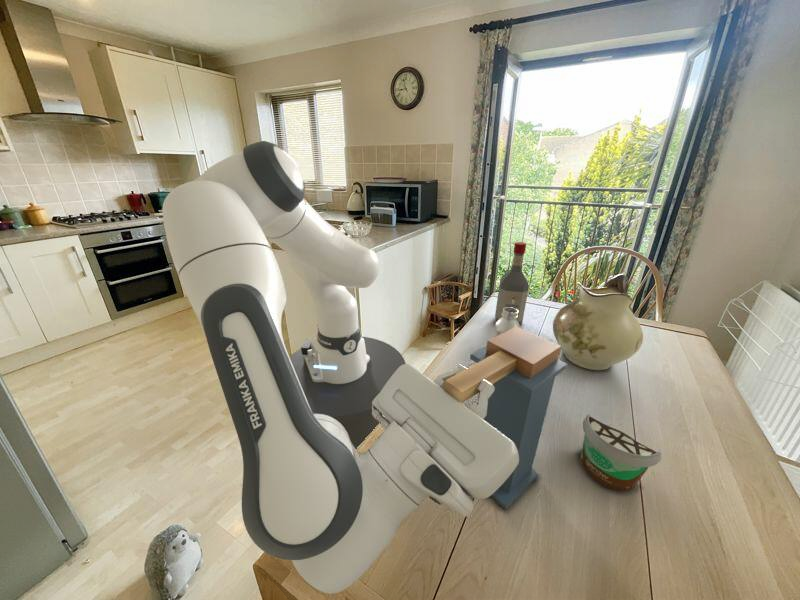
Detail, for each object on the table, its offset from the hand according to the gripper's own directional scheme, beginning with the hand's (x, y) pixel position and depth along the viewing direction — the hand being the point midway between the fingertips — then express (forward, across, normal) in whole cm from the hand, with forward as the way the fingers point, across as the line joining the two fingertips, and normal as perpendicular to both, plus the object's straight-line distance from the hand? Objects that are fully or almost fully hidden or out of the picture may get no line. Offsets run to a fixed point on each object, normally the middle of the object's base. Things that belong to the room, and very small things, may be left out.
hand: (476, 375), depth 43 cm
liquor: (+42, -35, -56) cm, 78 cm away
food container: (+8, +13, -36) cm, 40 cm away
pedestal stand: (-5, 0, -29) cm, 29 cm away
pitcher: (+42, -7, -56) cm, 70 cm away
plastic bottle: (+18, -18, -42) cm, 49 cm away
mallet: (+4, 0, -4) cm, 5 cm away
